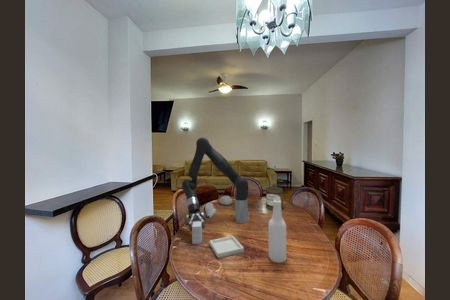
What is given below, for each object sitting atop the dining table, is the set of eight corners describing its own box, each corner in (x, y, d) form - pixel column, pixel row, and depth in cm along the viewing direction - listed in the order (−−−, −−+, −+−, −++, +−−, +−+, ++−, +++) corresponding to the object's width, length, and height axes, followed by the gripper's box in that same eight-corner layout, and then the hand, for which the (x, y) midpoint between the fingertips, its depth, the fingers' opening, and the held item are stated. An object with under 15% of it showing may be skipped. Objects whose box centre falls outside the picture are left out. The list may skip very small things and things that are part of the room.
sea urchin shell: (234, 202, 196) (233, 194, 196) (230, 206, 183) (230, 198, 183) (221, 201, 200) (221, 193, 200) (217, 205, 187) (217, 197, 187)
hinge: (210, 218, 155) (206, 206, 156) (205, 219, 156) (201, 207, 157) (216, 211, 171) (212, 200, 172) (211, 212, 172) (208, 201, 173)
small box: (193, 237, 123) (193, 221, 123) (202, 237, 123) (201, 220, 123) (192, 244, 115) (191, 226, 115) (201, 243, 115) (201, 226, 115)
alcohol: (273, 251, 106) (272, 197, 105) (288, 257, 100) (288, 200, 99) (265, 259, 99) (265, 201, 98) (282, 265, 94) (281, 204, 93)
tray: (232, 239, 120) (232, 235, 119) (243, 252, 106) (243, 247, 106) (209, 244, 114) (209, 240, 114) (217, 258, 100) (217, 253, 100)
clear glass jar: (263, 209, 174) (263, 185, 174) (269, 204, 187) (269, 182, 186) (280, 212, 166) (280, 186, 166) (284, 207, 179) (284, 183, 178)
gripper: (182, 204, 125) (186, 229, 114) (204, 201, 130) (210, 225, 119) (181, 209, 130) (185, 234, 119) (202, 206, 135) (207, 230, 125)
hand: (197, 229), depth 119 cm, fingers closed on small box, 7 cm apart
